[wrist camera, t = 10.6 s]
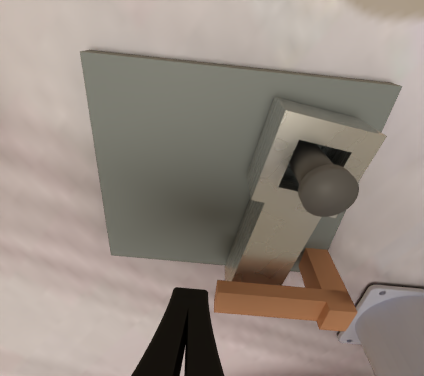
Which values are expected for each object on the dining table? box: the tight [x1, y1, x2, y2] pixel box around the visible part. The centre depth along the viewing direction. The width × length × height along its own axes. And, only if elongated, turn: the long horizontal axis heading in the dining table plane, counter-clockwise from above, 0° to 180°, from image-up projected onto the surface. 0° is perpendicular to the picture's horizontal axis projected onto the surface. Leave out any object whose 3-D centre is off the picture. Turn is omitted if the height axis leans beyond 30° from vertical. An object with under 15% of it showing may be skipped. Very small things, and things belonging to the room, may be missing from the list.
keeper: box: [214, 248, 358, 331], centre depth 16 cm, size 8×2×5 cm, turn 85°
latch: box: [225, 96, 387, 286], centre depth 14 cm, size 12×4×2 cm, turn 167°
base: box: [80, 50, 402, 272], centre depth 14 cm, size 15×13×6 cm
